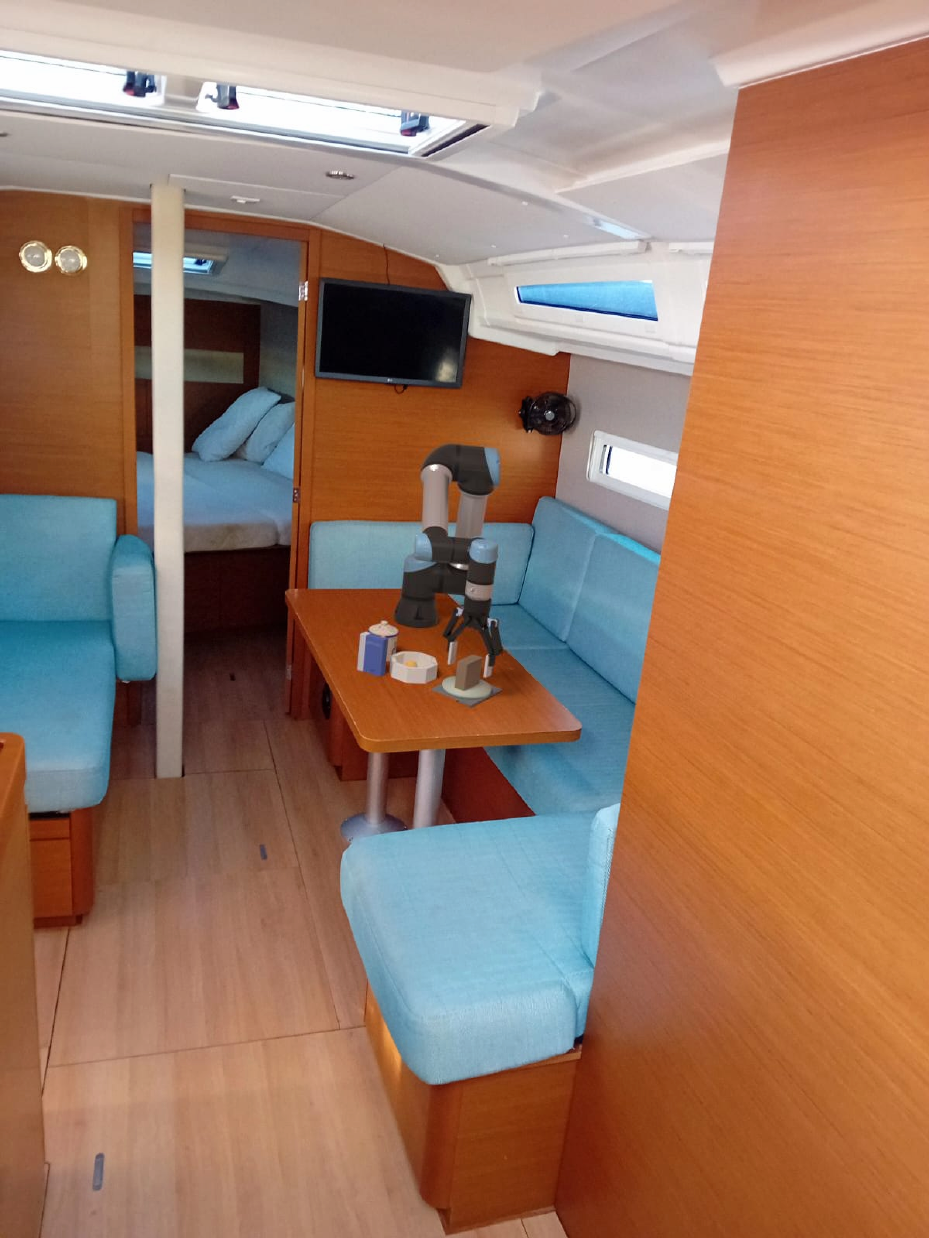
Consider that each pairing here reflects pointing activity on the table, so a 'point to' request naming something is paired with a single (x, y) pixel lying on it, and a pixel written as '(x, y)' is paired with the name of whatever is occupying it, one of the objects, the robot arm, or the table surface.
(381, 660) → the walkman
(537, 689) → the table surface
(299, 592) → the table surface
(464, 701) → the mat
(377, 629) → the teacup with lid
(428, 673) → the bowl
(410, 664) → the clementine
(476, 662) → the lid
